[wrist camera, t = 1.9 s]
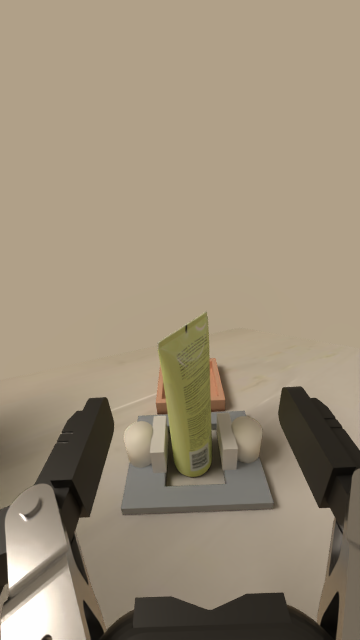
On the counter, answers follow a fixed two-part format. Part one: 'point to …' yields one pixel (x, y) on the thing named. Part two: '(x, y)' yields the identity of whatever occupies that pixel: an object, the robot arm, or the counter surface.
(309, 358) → the counter surface
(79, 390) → the counter surface
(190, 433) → the tube
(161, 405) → the tray
